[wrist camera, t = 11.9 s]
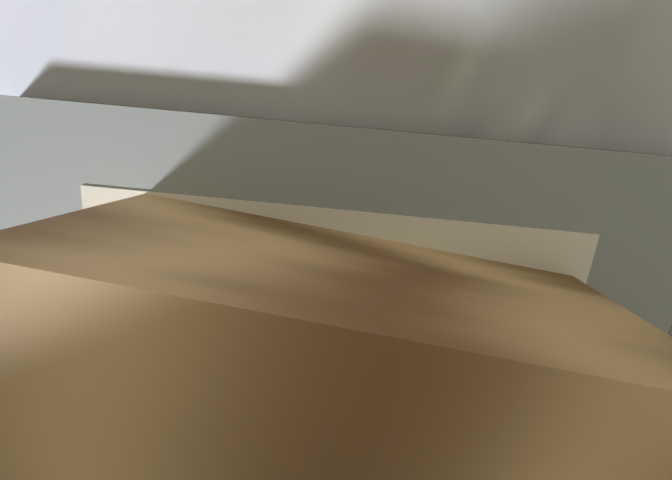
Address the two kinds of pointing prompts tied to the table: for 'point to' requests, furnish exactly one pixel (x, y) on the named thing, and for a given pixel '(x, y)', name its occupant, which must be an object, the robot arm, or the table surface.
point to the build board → (360, 187)
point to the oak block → (310, 357)
